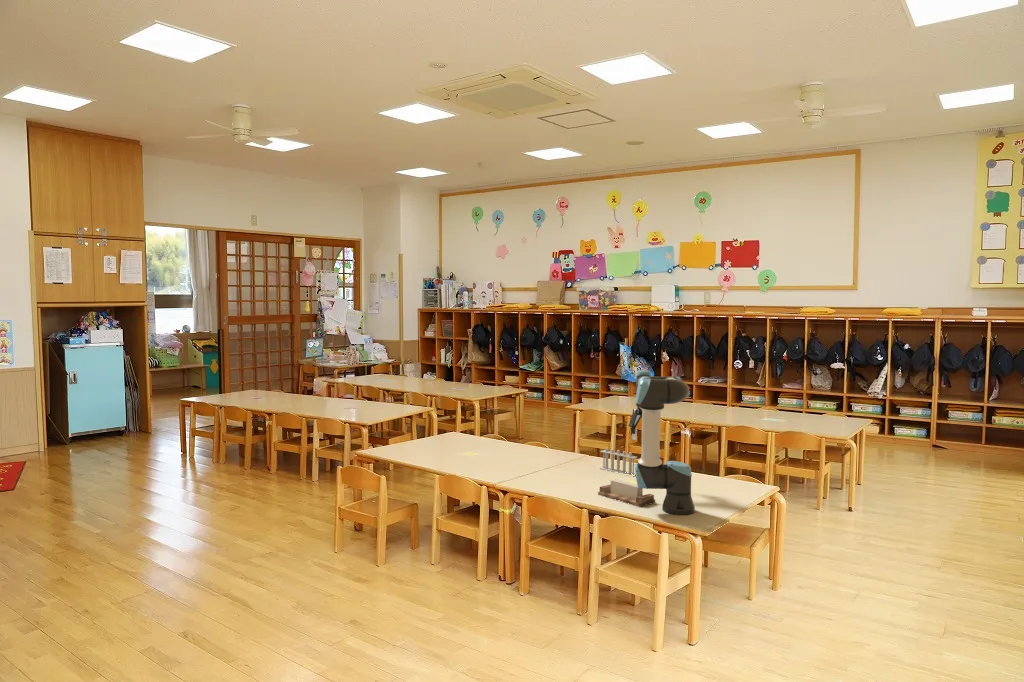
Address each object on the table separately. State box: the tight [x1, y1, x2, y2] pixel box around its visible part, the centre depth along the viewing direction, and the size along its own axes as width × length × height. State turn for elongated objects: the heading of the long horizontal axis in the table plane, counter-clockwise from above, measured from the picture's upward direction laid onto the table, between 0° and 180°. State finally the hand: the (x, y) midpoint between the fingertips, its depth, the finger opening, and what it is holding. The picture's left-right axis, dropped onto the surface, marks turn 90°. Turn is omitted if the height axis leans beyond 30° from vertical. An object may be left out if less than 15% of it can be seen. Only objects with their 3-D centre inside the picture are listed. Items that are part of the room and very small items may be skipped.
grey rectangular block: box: [610, 478, 644, 500], centre depth 361 cm, size 18×4×6 cm, turn 39°
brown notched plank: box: [597, 483, 656, 508], centre depth 362 cm, size 28×12×4 cm, turn 38°
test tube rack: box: [599, 447, 638, 475], centre depth 418 cm, size 25×4×13 cm, turn 42°
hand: (642, 438), depth 383 cm, fingers open, 13 cm apart
